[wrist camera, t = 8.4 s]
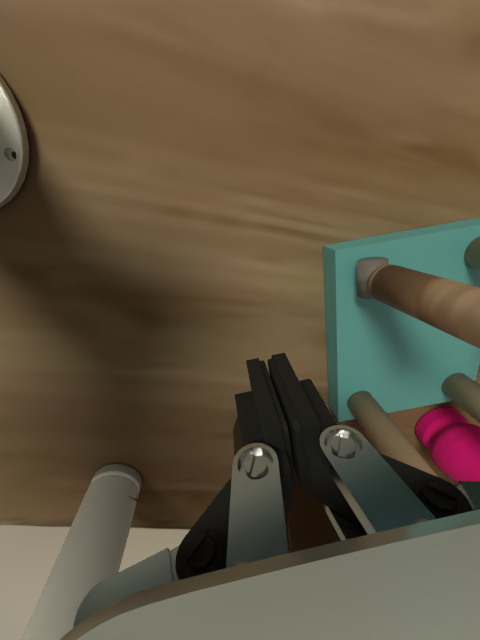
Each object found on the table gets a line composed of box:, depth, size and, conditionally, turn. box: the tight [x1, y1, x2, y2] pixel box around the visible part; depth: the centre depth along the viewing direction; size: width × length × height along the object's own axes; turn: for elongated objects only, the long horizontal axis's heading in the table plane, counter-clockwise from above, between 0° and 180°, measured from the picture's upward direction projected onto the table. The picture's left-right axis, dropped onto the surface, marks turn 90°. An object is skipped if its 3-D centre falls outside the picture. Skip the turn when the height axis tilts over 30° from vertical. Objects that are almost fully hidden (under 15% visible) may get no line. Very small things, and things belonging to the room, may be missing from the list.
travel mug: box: [21, 464, 142, 640], centre depth 28 cm, size 6×7×20 cm
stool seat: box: [323, 218, 480, 477], centre depth 23 cm, size 20×16×17 cm
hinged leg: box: [356, 257, 480, 349], centre depth 18 cm, size 3×3×14 cm
